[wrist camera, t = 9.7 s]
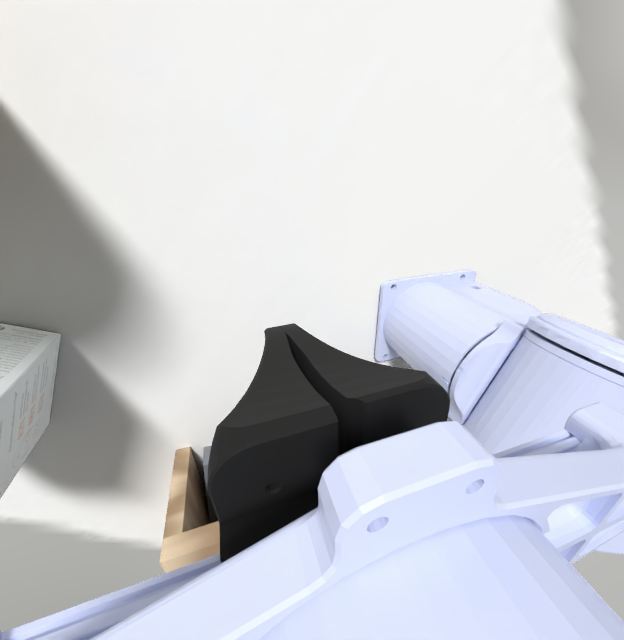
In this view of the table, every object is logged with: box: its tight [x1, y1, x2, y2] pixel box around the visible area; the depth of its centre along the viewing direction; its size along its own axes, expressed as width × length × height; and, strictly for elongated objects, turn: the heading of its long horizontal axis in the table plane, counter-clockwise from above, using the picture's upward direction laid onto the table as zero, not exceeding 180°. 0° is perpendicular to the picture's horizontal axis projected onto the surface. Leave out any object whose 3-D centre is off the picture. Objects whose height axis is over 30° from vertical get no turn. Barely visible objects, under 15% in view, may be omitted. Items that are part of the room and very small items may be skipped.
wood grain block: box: [160, 447, 220, 573], centre depth 27 cm, size 18×13×9 cm
